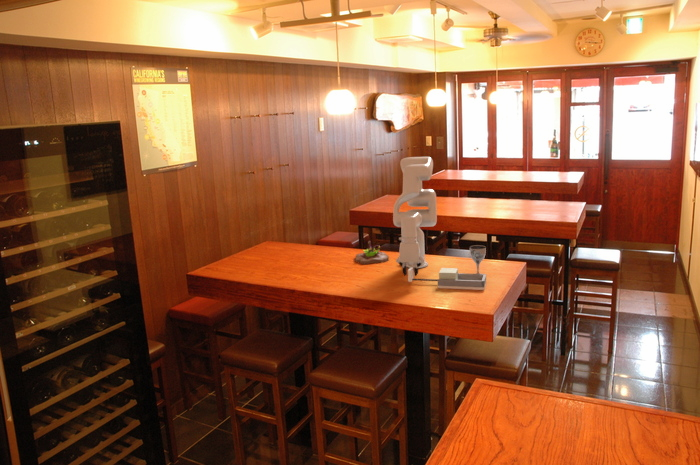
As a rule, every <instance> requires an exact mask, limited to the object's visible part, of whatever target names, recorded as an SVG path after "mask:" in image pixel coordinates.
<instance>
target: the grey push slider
mask: <svg viewBox="0 0 700 465" xmlns="http://www.w3.org/2000/svg"><path fill="white" fill-rule="evenodd" d="M458 269H459V268H455V267H452V268H451V267H441V268H440V270H439V272H438V276H439V278H438V279H451V280H458V273H459V270H458ZM438 279H432V278H414V268H413V267H410V268H409V267H408V269H407V282H408V283H412V282H413V281H424V282H438Z"/></svg>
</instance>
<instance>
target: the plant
mask: <svg viewBox="0 0 700 465" xmlns="http://www.w3.org/2000/svg"><path fill="white" fill-rule="evenodd" d="M367 243H368V244H369V247H368V248H366V249H362V251H363V252H362V253H361V252H360V253H357V254H355V259H354V261H357V262H359V263H358V264H360V263H361V264H360V265H371V264H370V263H373V264H382V263H381V262H383V263H386V262H388V261H389V259H390V258H389V257H390V256H389V255H388V254H386V252H382V251H380V249H381V246H380V245H379V244H376V245H374V246H372V243H371V240H368V242H367ZM376 247H377V248H378V249H377V250H376ZM357 262H356V263H357Z"/></svg>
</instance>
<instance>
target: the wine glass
mask: <svg viewBox="0 0 700 465" xmlns="http://www.w3.org/2000/svg"><path fill="white" fill-rule="evenodd" d="M486 249H487V247H486V246H485V245H479V244H476V245H470V246H469V253H470V254H469V255H470V258H471V260H472V261H473V262H474V263H475V264H476V273H474V274H482V273H481V272H480V264H481V263H482V261H483V260H484V259H485V256H486V253H487V252H486V251H487V250H486Z"/></svg>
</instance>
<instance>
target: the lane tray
mask: <svg viewBox="0 0 700 465" xmlns="http://www.w3.org/2000/svg"><path fill="white" fill-rule="evenodd" d="M437 280H438V281H437V289H448V290H449V289H452V290H455V289H456V290H474V291H475V290H479V291H485V289H486V284H487V273H481V274H475V273H465V272H464V273H462V272H461V273H460V272H458V280H451V279H439V278H438V279H437Z"/></svg>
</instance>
